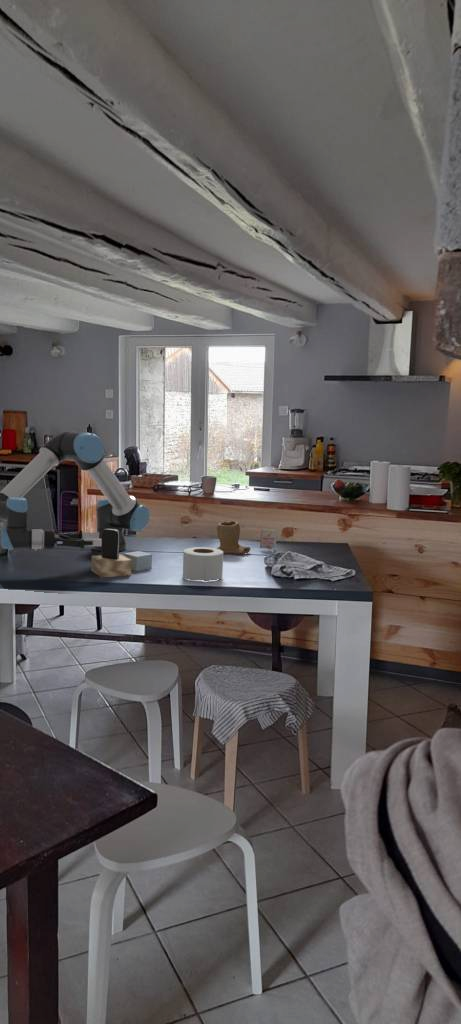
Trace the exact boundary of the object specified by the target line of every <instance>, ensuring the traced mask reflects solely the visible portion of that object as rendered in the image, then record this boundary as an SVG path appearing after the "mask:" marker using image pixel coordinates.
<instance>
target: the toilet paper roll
mask: <svg viewBox="0 0 461 1024" xmlns="http://www.w3.org/2000/svg"><path fill="white" fill-rule="evenodd" d="M182 554H183V555H182V557H183V558H182V559H183V560H182V561H183V562H182V578H183V577H184V578H186V579H190V580H204V581H209V580H217V579H221V578H222V579H223V572H224V571H223V567H224V565H223V564H224V553H223V551H222V550H220V549H216V548H214V547H207V546H194V547H187V548H184V549H183V553H182ZM184 578H183V579H184ZM186 579H185V580H186ZM222 579H221V580H222Z"/></svg>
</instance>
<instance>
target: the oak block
mask: <svg viewBox="0 0 461 1024" xmlns="http://www.w3.org/2000/svg"><path fill="white" fill-rule="evenodd" d="M90 568H91V572H93V573H95V575H97V576H99V578H112V577H113V578H115V577H125V576H126V577H127V575H128V576H131V575H132V570H131V560H130V559H129V558H127V557H125V556H124V554H122V553H119V558H118V559H112V558H104V557H102V554H100V555H99V554H98V555H91V567H90Z"/></svg>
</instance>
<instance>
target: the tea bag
mask: <svg viewBox="0 0 461 1024" xmlns="http://www.w3.org/2000/svg"><path fill="white" fill-rule="evenodd" d="M259 547H260V548H268V549H272V548H275V547H276V548H277V530H275V529H274V530H273V529H263V528H262V529H261V532H260V546H259ZM260 548H259V549H260Z"/></svg>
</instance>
